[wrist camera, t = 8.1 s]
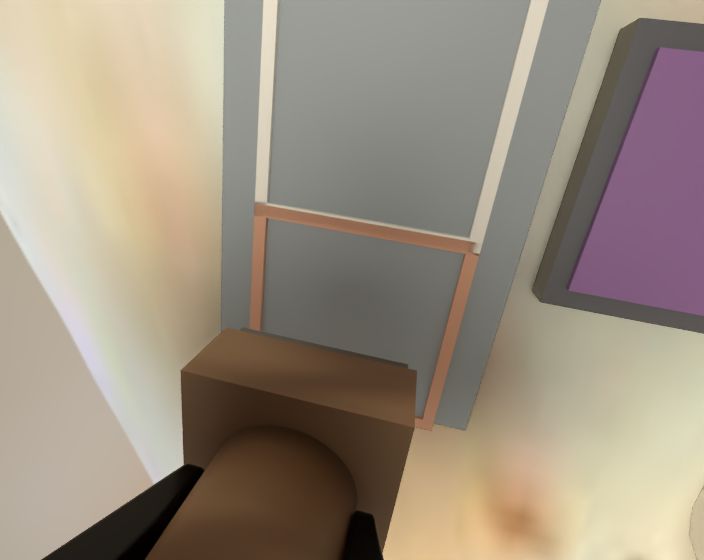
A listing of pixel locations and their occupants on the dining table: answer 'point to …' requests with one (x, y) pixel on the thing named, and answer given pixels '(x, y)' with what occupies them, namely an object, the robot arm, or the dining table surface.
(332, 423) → the stamp
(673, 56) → the ink pad
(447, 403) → the board
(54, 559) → the robot arm
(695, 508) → the honey pot
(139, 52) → the dining table surface
